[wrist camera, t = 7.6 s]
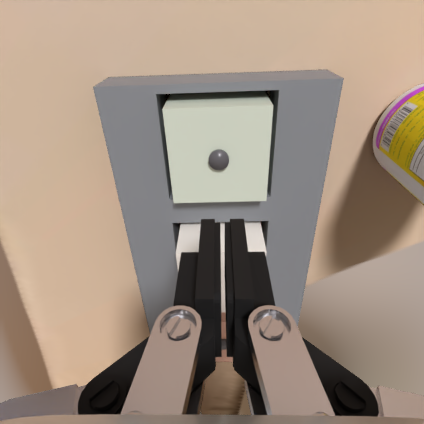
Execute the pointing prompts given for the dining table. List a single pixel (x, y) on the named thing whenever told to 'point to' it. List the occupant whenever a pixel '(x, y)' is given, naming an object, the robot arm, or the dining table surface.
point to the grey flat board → (220, 211)
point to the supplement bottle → (403, 141)
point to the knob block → (218, 145)
